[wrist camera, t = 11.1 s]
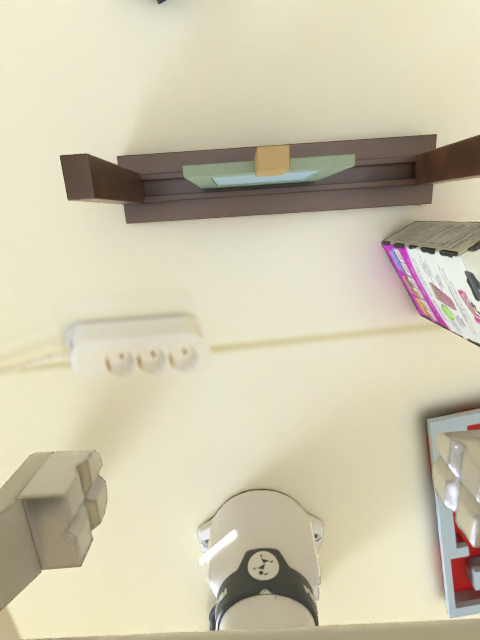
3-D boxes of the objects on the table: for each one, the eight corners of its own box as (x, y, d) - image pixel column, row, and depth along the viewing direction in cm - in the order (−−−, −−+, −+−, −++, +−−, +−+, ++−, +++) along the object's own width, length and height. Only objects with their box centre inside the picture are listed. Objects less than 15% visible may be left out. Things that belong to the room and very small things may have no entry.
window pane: (316, 184, 40) (374, 163, 23) (202, 192, 40) (174, 176, 23) (316, 170, 40) (375, 138, 22) (201, 178, 40) (171, 152, 23)
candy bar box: (456, 294, 46) (570, 338, 30) (419, 316, 47) (512, 369, 31) (416, 217, 43) (519, 219, 27) (378, 241, 44) (456, 257, 28)
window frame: (422, 204, 43) (536, 199, 26) (131, 223, 43) (66, 229, 27) (427, 137, 41) (553, 88, 24) (122, 158, 41) (45, 123, 25)
